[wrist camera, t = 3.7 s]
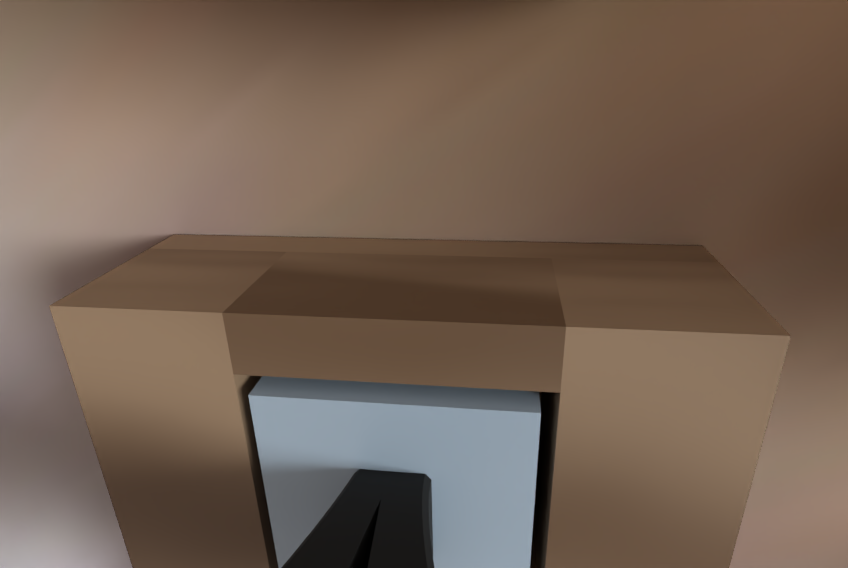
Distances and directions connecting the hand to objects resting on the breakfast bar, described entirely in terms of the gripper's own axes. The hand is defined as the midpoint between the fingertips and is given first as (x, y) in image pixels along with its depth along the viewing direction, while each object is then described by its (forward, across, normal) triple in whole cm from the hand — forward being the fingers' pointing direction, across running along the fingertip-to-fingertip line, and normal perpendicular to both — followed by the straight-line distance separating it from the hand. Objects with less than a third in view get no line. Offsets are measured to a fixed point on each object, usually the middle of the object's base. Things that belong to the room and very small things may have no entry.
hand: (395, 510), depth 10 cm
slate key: (+3, 0, 0) cm, 3 cm away
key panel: (+4, 0, +8) cm, 9 cm away
